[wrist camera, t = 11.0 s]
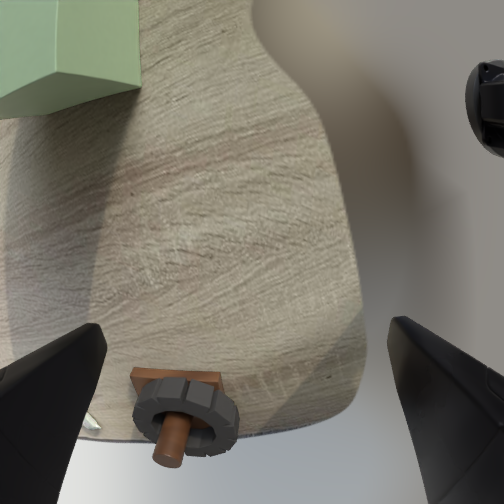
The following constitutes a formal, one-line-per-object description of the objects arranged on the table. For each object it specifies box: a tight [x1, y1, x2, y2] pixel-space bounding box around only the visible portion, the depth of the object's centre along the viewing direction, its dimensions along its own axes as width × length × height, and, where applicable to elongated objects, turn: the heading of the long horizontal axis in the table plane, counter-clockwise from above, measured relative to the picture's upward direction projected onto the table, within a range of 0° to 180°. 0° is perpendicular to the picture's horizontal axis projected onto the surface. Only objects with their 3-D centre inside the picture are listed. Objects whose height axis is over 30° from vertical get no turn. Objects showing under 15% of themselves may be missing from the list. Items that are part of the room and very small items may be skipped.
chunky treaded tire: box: [132, 377, 240, 457], centre depth 25 cm, size 9×9×2 cm
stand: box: [130, 367, 224, 468], centre depth 24 cm, size 8×8×7 cm
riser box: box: [0, 0, 142, 120], centre depth 12 cm, size 8×7×9 cm
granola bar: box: [83, 413, 101, 430], centre depth 29 cm, size 7×2×1 cm, turn 23°
